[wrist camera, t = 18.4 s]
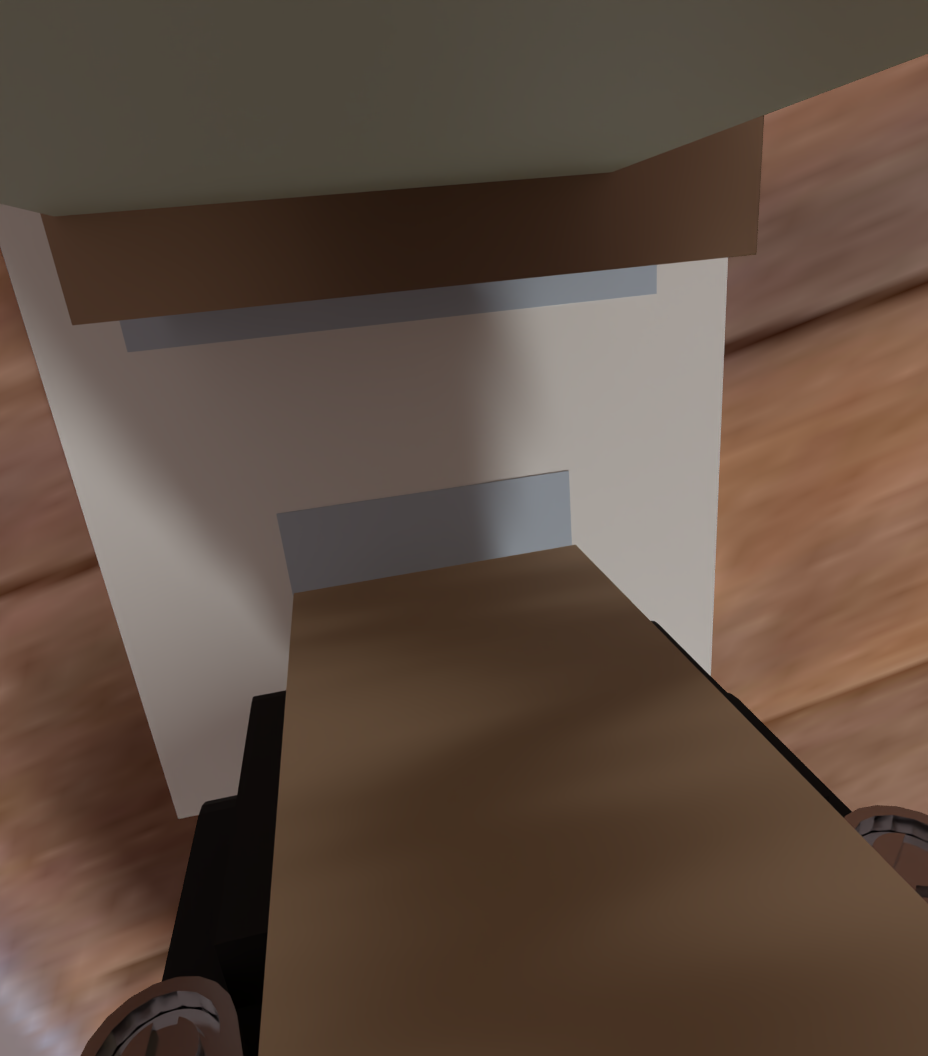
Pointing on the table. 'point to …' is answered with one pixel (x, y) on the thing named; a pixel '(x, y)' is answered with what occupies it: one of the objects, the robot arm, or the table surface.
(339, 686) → the oak post
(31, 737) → the table surface
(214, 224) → the foundation
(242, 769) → the robot arm
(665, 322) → the pad
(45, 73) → the sage cube
